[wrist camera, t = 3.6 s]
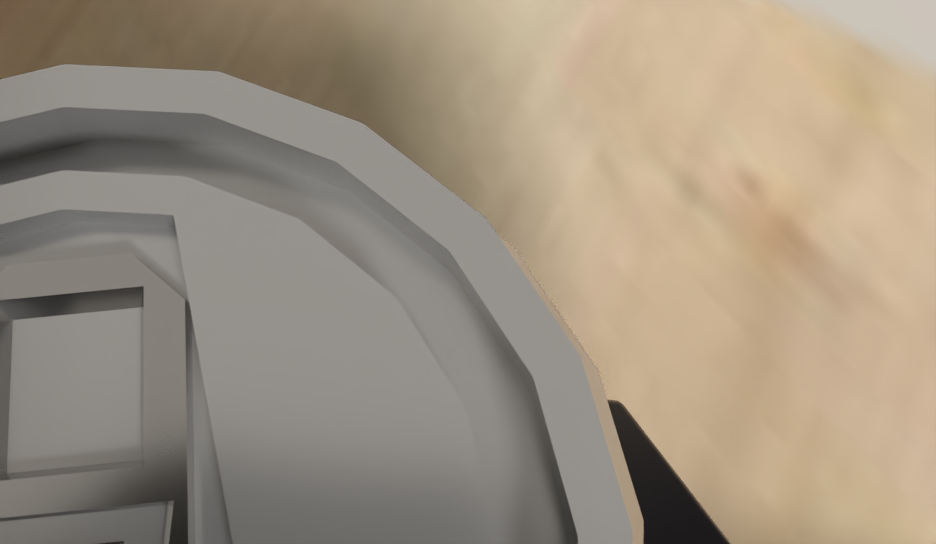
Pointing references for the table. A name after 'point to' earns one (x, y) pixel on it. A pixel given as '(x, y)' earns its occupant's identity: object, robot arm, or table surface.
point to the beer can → (272, 334)
